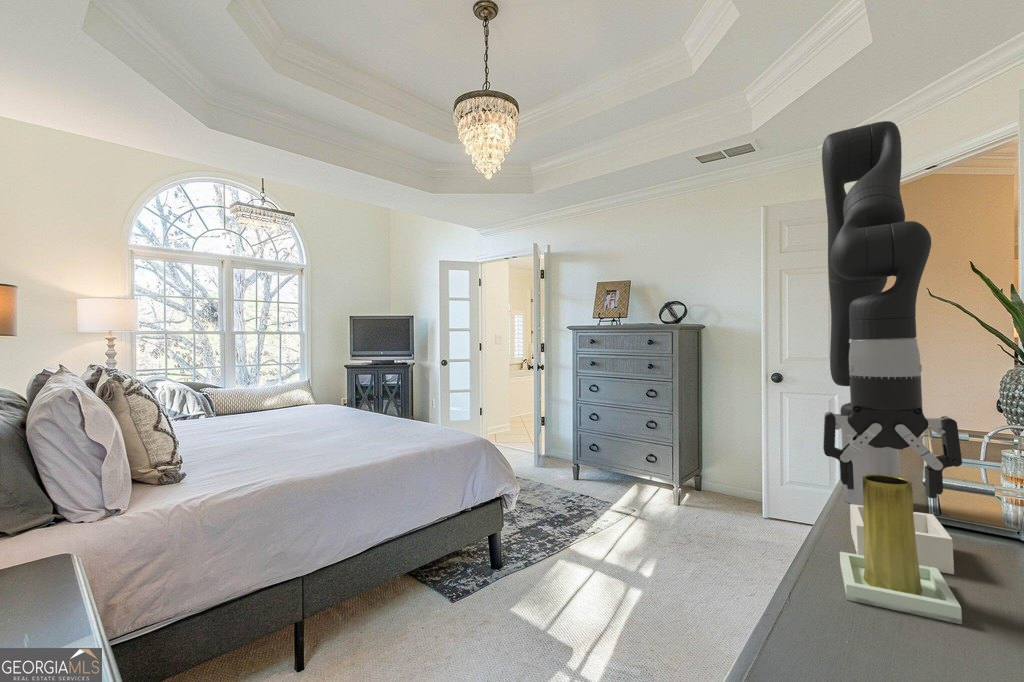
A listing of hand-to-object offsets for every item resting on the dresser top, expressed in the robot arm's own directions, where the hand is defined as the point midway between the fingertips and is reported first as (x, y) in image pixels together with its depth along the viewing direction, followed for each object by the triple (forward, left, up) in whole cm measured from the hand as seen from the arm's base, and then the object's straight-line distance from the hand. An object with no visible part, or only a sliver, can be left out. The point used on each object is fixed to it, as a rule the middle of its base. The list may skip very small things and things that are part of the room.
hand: (889, 492), depth 62 cm
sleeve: (-15, +2, -13) cm, 20 cm away
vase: (0, 0, -13) cm, 13 cm away
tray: (0, 0, -13) cm, 13 cm away
